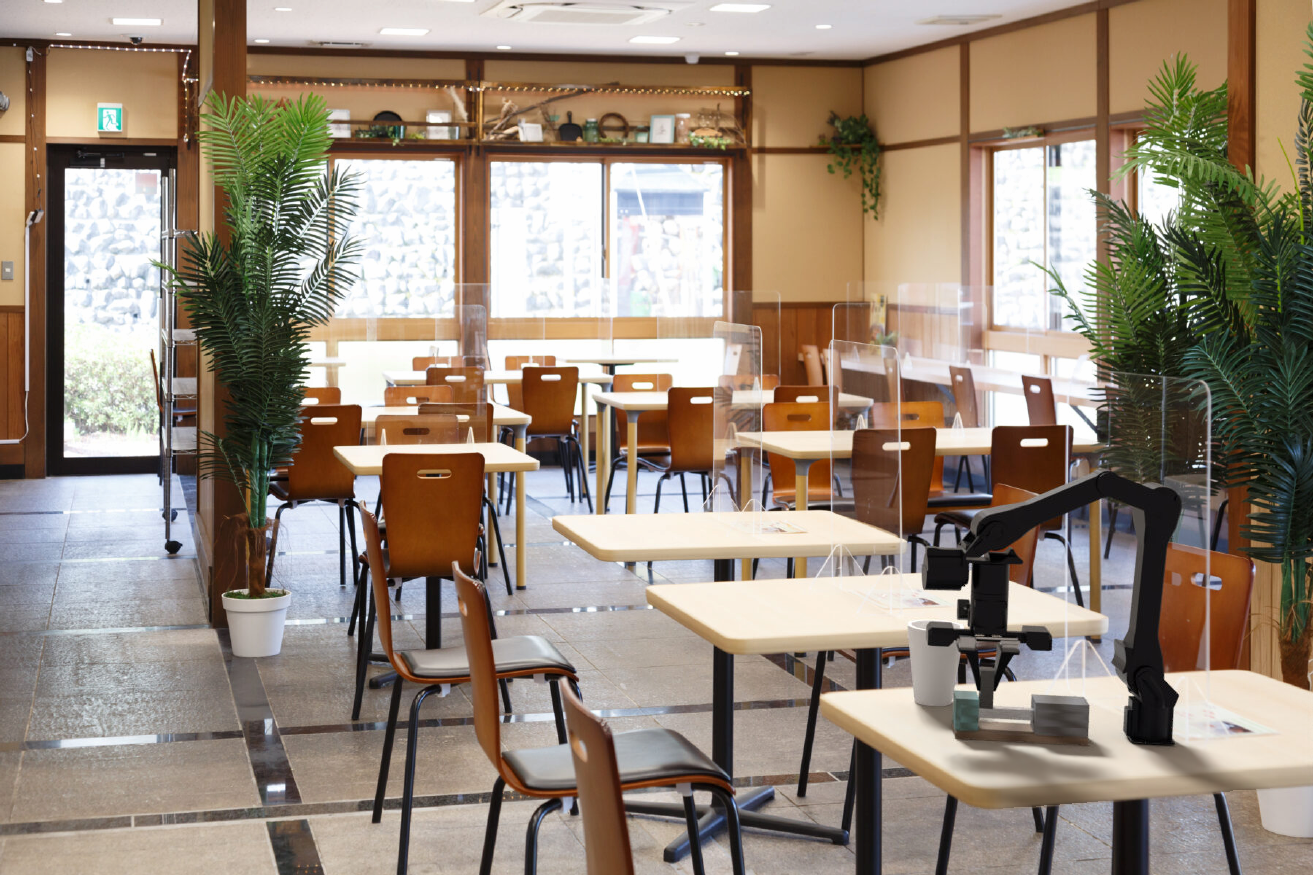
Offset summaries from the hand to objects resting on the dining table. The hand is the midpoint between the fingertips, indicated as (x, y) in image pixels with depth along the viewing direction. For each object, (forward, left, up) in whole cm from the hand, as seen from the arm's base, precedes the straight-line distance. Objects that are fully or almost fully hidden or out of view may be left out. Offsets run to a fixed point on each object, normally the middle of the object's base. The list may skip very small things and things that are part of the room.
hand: (986, 690), depth 223 cm
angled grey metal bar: (-3, 0, -4) cm, 5 cm away
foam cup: (+7, -18, -7) cm, 21 cm away
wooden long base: (-5, 0, -7) cm, 9 cm away
